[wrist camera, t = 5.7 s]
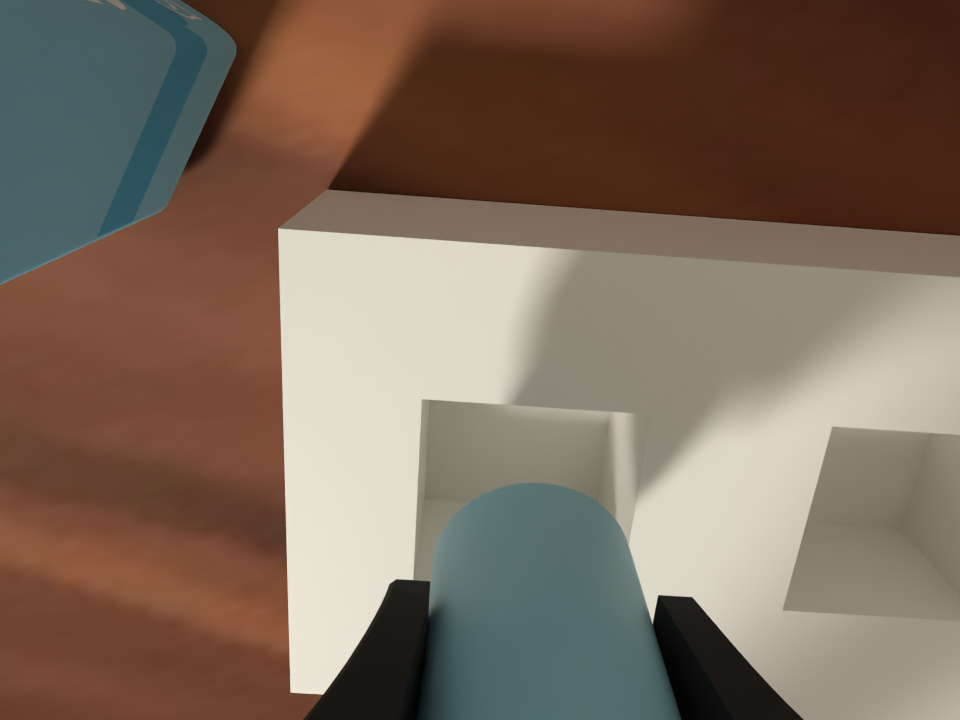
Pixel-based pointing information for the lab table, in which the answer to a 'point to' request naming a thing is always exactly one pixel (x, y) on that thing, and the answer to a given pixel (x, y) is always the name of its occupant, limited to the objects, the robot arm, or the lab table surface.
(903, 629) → the hole board
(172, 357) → the lab table surface
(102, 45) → the data package
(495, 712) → the pin
